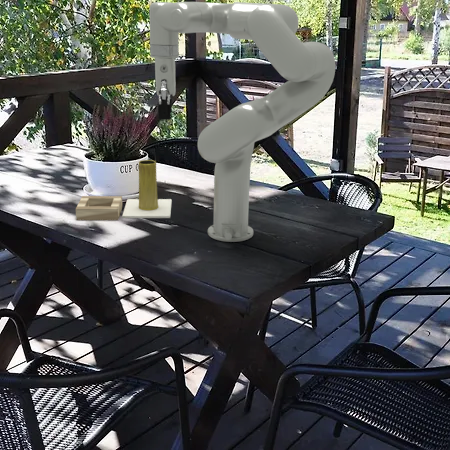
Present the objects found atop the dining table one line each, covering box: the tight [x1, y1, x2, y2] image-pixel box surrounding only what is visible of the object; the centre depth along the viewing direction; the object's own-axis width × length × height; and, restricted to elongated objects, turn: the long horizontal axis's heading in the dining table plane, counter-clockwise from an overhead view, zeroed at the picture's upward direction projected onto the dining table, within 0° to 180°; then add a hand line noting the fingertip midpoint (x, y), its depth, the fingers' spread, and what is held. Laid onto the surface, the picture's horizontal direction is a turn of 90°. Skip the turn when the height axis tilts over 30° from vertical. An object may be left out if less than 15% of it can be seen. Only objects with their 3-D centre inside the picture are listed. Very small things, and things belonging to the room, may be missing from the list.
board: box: [121, 198, 173, 219], centre depth 184 cm, size 16×14×1 cm
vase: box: [138, 159, 159, 210], centre depth 181 cm, size 6×6×14 cm
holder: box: [75, 195, 123, 221], centre depth 179 cm, size 12×12×4 cm
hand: (165, 115), depth 166 cm, fingers open, 9 cm apart
